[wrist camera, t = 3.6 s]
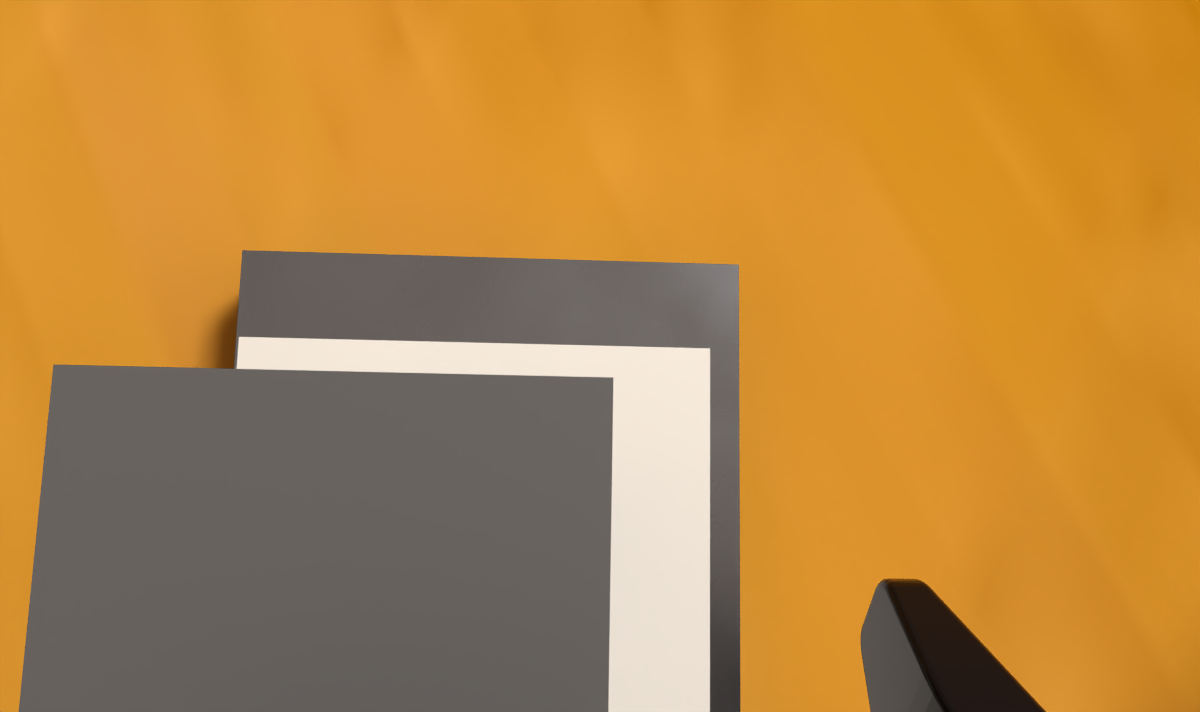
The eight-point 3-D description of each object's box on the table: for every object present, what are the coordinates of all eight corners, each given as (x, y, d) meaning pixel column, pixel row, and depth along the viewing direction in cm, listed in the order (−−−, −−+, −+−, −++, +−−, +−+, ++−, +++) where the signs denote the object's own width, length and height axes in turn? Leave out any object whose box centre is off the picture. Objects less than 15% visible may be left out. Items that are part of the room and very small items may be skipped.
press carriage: (685, 721, 16) (1003, 1293, 5) (158, 719, 15) (-894, 1341, 4) (686, 368, 16) (960, 129, 5) (187, 357, 16) (-625, 73, 5)
